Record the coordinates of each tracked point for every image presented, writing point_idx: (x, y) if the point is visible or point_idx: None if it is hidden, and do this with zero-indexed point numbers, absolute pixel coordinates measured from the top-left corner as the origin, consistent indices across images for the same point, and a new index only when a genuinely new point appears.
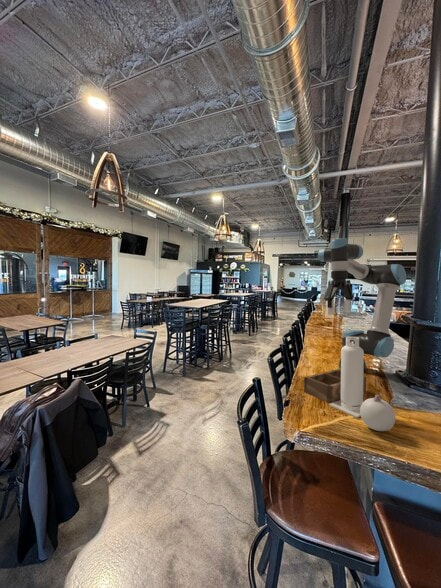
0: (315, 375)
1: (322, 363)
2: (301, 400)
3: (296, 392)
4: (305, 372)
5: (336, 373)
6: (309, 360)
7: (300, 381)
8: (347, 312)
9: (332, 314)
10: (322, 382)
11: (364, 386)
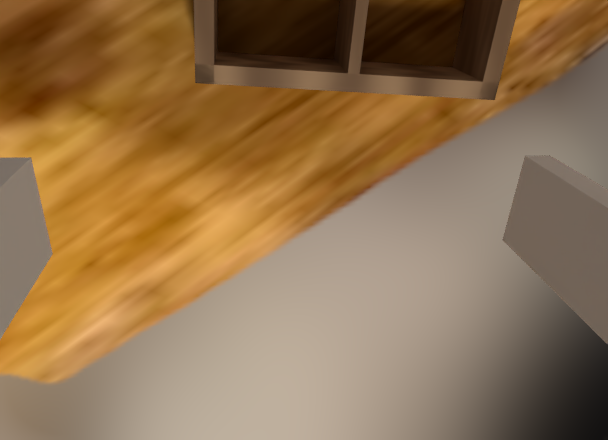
0: (426, 84)
1: None
2: (553, 27)
3: None
4: (231, 247)
5: (252, 64)
6: (48, 360)
7: (359, 178)
8: (37, 201)
9: (553, 163)
10: (366, 66)
11: None
